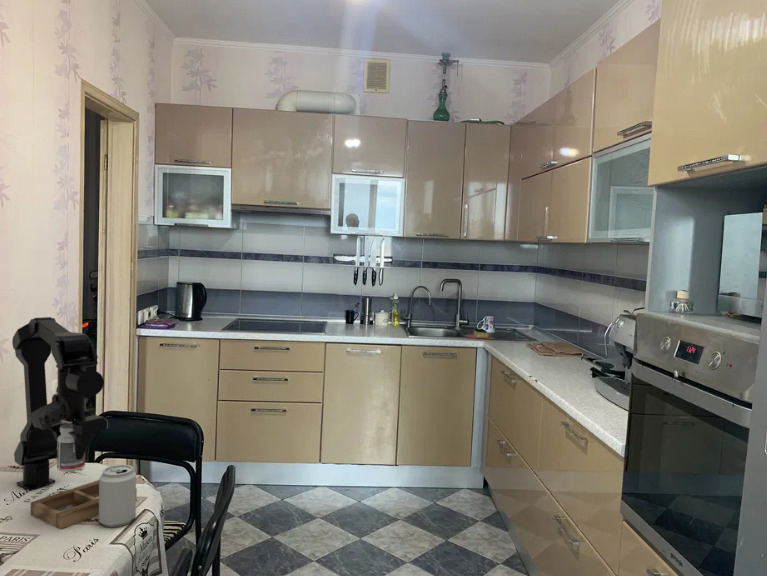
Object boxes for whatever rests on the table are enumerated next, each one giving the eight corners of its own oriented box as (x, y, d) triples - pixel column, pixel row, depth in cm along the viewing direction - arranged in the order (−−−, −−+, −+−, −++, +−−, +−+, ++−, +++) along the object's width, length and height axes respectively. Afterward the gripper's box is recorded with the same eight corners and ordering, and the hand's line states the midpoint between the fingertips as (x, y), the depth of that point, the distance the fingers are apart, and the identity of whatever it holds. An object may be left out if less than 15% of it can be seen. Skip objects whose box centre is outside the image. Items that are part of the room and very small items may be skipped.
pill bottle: (90, 466, 134) (91, 424, 134) (68, 474, 129) (69, 430, 129) (73, 462, 137) (74, 420, 136) (51, 469, 132) (51, 426, 131)
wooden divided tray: (30, 515, 131) (30, 502, 130) (106, 489, 146) (106, 477, 146) (61, 529, 124) (61, 515, 124) (136, 500, 140) (136, 488, 140)
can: (121, 530, 125) (122, 476, 124) (90, 526, 126) (91, 472, 126) (142, 516, 132) (143, 464, 132) (113, 511, 134) (114, 461, 133)
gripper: (12, 390, 130) (12, 458, 130) (61, 401, 121) (61, 475, 121) (60, 382, 140) (60, 446, 140) (109, 392, 130) (109, 460, 131)
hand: (71, 456), depth 133 cm, fingers closed on pill bottle, 6 cm apart
